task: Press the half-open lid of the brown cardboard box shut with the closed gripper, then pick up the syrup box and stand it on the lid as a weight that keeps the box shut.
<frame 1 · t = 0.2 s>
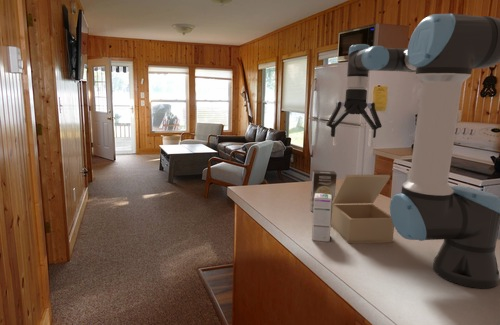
hand: (352, 146, 136), 28 cm above the countertop, tool pointing down, fingers open, 13 cm apart
syrup box: (320, 238, 119), on the countertop
cardboard box: (360, 233, 124), on the countertop
box lid: (360, 189, 124), point 15 cm above the countertop, hinge at 50.0°
coffee box: (321, 210, 148), on the countertop
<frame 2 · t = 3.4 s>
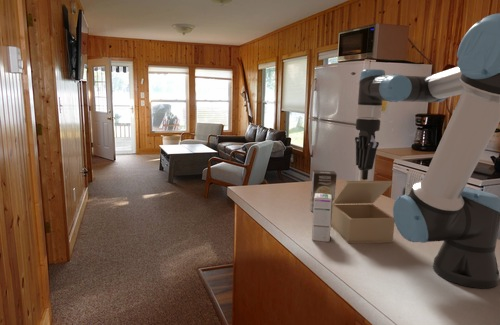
hand: (361, 188, 122), 16 cm above the countertop, tool pointing down, fingers closed
box lid: (360, 192, 123), point 14 cm above the countertop, hinge at 41.2°, touching gripper
everything else where it was.
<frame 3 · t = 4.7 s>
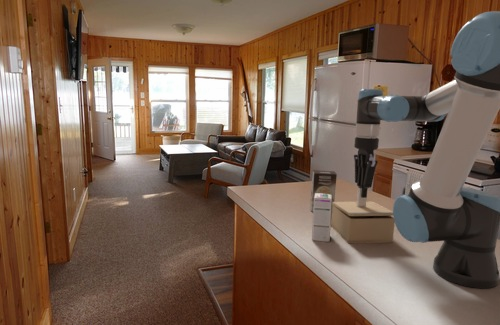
hand: (361, 205, 123), 10 cm above the countertop, tool pointing down, fingers closed
box lid: (362, 208, 122), point 9 cm above the countertop, hinge at 3.4°, touching gripper
everything else where it was.
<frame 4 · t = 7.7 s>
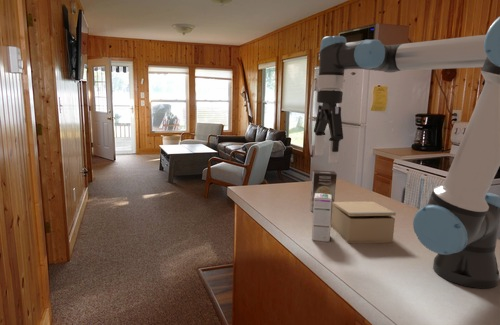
hand: (325, 158, 114), 27 cm above the countertop, tool pointing down, fingers open, 13 cm apart
box lid: (362, 208, 122), point 9 cm above the countertop, hinge at 3.4°
everything else where it was.
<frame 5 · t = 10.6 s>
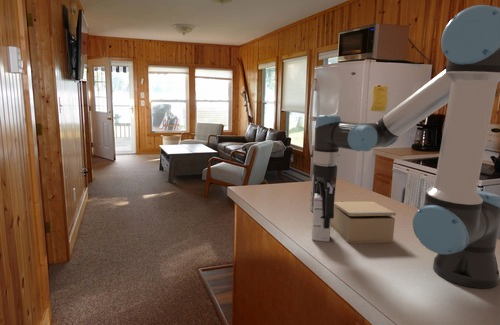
hand: (320, 232, 118), 2 cm above the countertop, tool pointing down, fingers closed on syrup box, 7 cm apart
syrup box: (320, 238, 119), on the countertop, touching gripper
everything else where it was.
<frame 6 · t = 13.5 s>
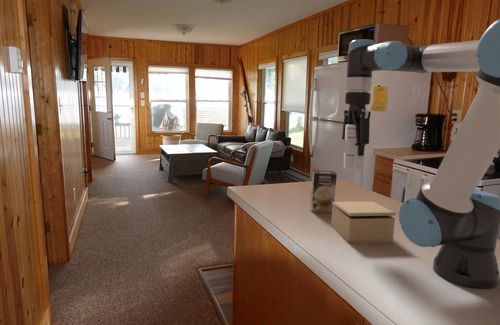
hand: (353, 163, 117), 25 cm above the countertop, tool pointing down, fingers closed on syrup box, 7 cm apart
syrup box: (352, 169, 117), point 23 cm above the countertop, touching gripper
everything else where it was.
when the fingers open (12 cm above the countertop, at t = 16.7 s): syrup box drops 1 cm, resting on box lid.
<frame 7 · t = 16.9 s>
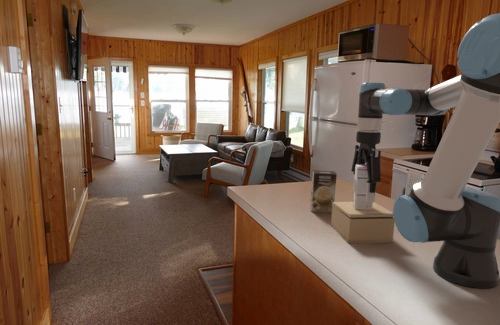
hand: (363, 197, 121), 13 cm above the countertop, tool pointing down, fingers open, 9 cm apart
syrup box: (362, 208, 122), point 9 cm above the countertop, touching box lid
box lid: (362, 208, 122), point 9 cm above the countertop, hinge at 1.8°, touching syrup box
everything else where it was.
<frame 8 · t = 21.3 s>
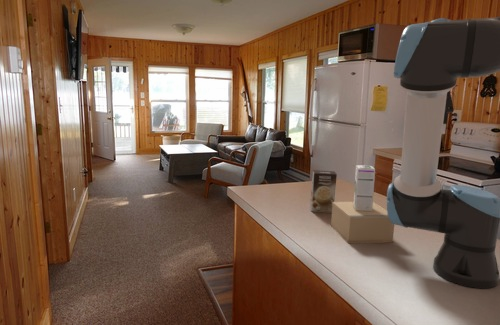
hand: (427, 131, 125), 35 cm above the countertop, tool pointing down, fingers open, 13 cm apart
box lid: (362, 209, 122), point 9 cm above the countertop, hinge at 0.0°, touching syrup box
everything else where it was.
at the end: box lid at +0° (first picture: +50°); syrup box inside the target area on the cardboard box (0.0 cm from its centre), point 8.7 cm above the cardboard box's base; syrup box tilted 0° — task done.
